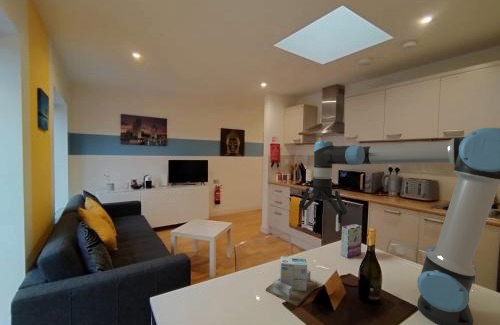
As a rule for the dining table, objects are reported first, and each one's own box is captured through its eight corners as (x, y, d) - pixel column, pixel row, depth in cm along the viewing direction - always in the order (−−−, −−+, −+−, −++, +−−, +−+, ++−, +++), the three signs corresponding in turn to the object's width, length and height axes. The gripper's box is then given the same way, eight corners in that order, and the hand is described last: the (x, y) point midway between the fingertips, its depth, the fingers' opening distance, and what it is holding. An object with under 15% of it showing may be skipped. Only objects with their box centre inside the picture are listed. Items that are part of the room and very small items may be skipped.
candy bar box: (353, 251, 136) (354, 223, 135) (361, 255, 131) (362, 226, 131) (339, 255, 130) (341, 225, 130) (347, 258, 126) (349, 228, 125)
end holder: (317, 285, 99) (318, 274, 99) (297, 306, 85) (297, 292, 85) (288, 273, 108) (289, 263, 108) (265, 290, 94) (266, 278, 94)
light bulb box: (304, 282, 99) (305, 257, 99) (306, 291, 93) (308, 265, 92) (279, 280, 101) (280, 255, 100) (279, 289, 94) (280, 262, 93)
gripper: (356, 179, 95) (354, 231, 96) (299, 175, 111) (298, 220, 111) (351, 180, 90) (349, 235, 90) (292, 176, 105) (291, 223, 105)
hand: (321, 227), depth 101 cm, fingers open, 13 cm apart
